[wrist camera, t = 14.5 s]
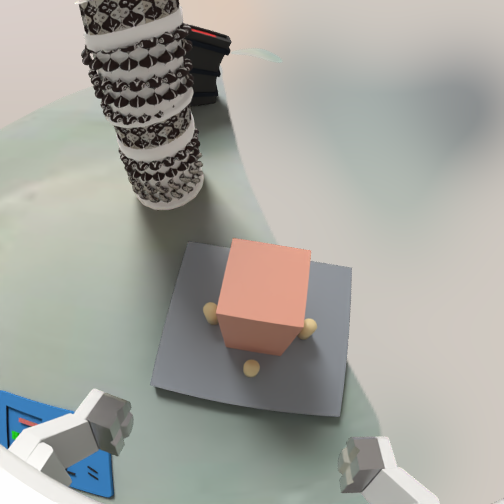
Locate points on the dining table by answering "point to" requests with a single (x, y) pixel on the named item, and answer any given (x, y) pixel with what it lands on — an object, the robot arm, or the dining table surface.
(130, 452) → the dining table surface
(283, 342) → the salmon pink block
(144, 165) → the decorative candle
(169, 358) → the plate
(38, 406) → the handheld gaming device
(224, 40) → the black ribbed casing
